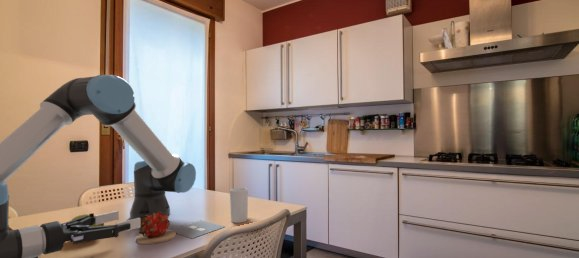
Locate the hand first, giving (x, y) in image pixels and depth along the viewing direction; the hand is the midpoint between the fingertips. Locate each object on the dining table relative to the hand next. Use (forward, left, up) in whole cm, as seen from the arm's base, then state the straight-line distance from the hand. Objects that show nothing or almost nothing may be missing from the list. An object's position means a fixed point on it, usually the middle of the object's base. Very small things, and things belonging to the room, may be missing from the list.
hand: (128, 218), depth 92 cm
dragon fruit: (0, +8, -8) cm, 12 cm away
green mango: (-18, -5, -9) cm, 21 cm away
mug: (+9, +39, -9) cm, 41 cm away
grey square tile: (+4, +22, -8) cm, 24 cm away
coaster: (0, +9, -8) cm, 12 cm away
